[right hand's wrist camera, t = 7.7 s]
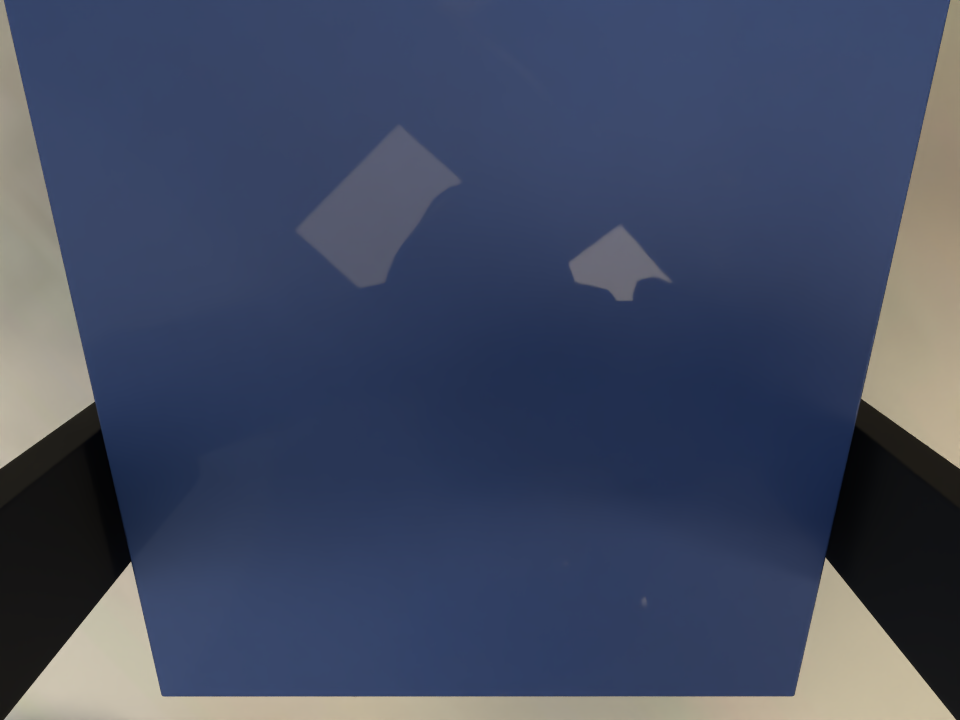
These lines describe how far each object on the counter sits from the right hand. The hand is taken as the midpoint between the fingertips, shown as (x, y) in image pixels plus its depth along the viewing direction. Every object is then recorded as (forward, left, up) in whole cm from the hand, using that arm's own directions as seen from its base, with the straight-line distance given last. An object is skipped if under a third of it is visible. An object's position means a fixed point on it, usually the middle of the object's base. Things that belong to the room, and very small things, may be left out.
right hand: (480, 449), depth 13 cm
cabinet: (+1, -3, -9) cm, 9 cm away
